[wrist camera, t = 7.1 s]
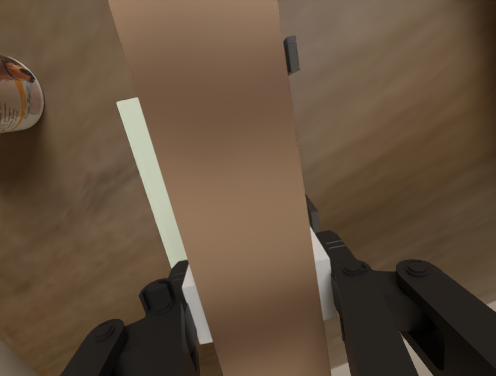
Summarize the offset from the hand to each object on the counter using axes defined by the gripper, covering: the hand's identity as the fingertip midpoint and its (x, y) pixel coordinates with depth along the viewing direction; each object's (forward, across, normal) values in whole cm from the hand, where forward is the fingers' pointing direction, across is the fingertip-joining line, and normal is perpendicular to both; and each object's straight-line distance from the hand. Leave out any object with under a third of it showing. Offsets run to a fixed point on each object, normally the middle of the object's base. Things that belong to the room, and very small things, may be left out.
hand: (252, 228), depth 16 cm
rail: (-2, 0, 0) cm, 2 cm away
